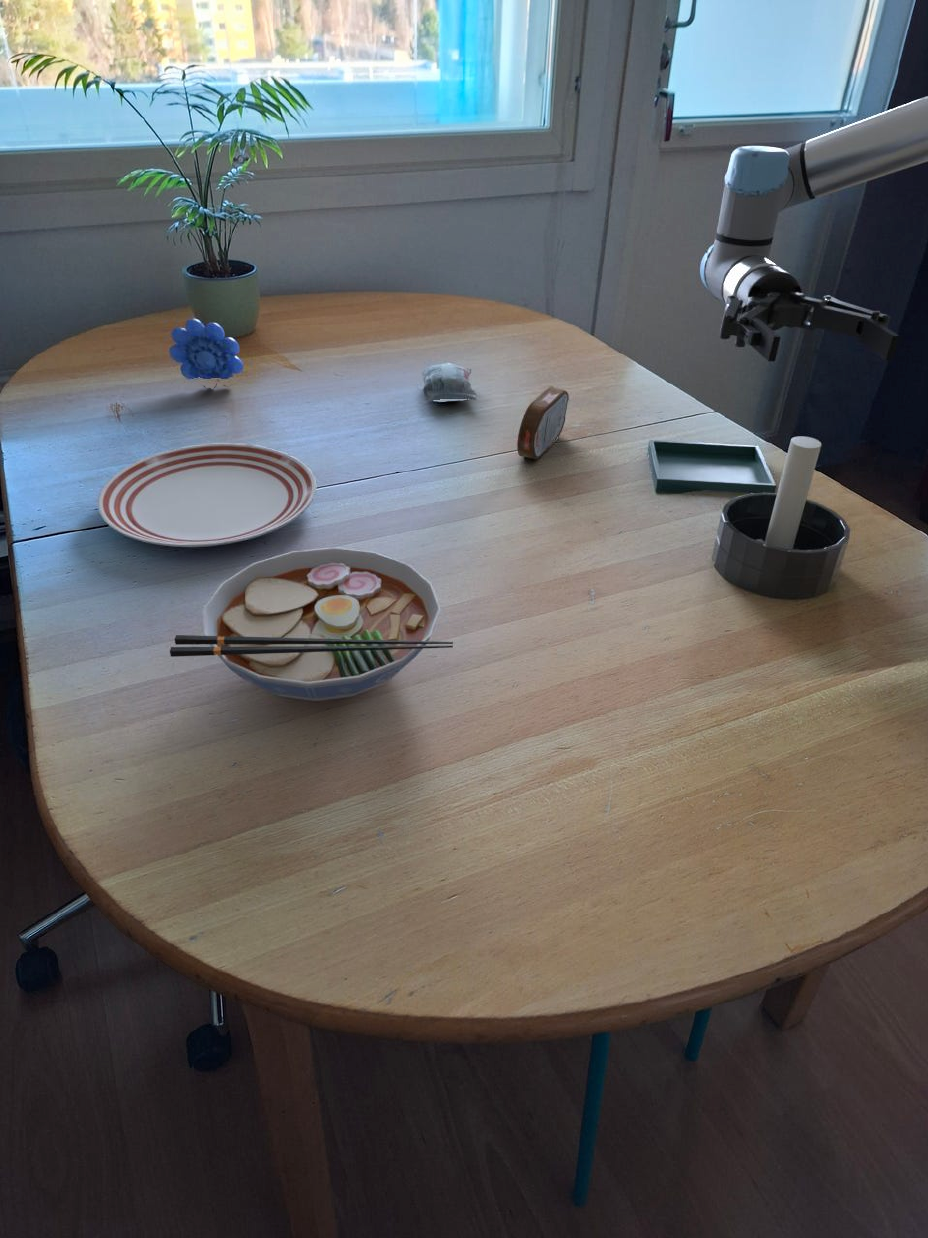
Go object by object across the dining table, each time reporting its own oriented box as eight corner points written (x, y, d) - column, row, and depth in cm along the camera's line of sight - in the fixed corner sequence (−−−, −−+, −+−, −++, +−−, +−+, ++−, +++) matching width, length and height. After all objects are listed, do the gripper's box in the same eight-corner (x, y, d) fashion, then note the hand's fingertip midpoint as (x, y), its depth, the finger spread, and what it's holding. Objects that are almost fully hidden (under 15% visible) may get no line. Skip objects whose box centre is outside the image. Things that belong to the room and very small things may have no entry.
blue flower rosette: (175, 400, 145) (161, 327, 138) (177, 385, 151) (164, 315, 144) (246, 396, 147) (237, 324, 140) (245, 381, 153) (237, 312, 146)
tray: (755, 458, 131) (758, 445, 130) (773, 499, 121) (776, 485, 119) (647, 452, 132) (649, 439, 131) (655, 492, 122) (657, 478, 120)
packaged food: (471, 384, 154) (471, 356, 151) (476, 410, 144) (477, 381, 142) (421, 385, 154) (421, 357, 151) (424, 411, 144) (423, 382, 141)
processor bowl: (817, 545, 110) (831, 496, 106) (847, 609, 99) (865, 556, 95) (703, 538, 111) (714, 489, 107) (721, 601, 100) (733, 548, 96)
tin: (549, 428, 139) (554, 377, 134) (568, 432, 138) (573, 380, 133) (513, 465, 128) (517, 410, 123) (533, 469, 127) (537, 414, 122)
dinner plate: (351, 530, 111) (350, 506, 109) (132, 586, 99) (126, 562, 98) (274, 449, 130) (272, 428, 128) (82, 489, 119) (77, 467, 117)
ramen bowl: (450, 603, 98) (451, 540, 93) (452, 745, 79) (453, 676, 75) (226, 602, 97) (215, 539, 93) (175, 746, 79) (159, 675, 74)
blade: (785, 543, 109) (818, 422, 100) (827, 581, 102) (867, 455, 93) (720, 551, 107) (748, 429, 98) (759, 591, 100) (792, 463, 91)
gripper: (846, 323, 117) (929, 380, 100) (664, 324, 114) (717, 382, 97) (862, 264, 112) (952, 313, 95) (673, 264, 110) (731, 314, 93)
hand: (834, 348), depth 96 cm, fingers open, 13 cm apart
